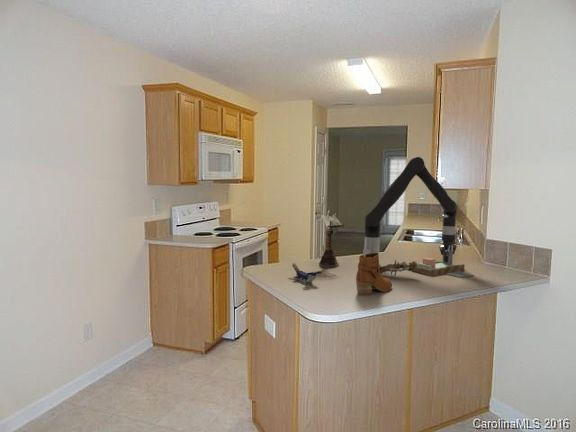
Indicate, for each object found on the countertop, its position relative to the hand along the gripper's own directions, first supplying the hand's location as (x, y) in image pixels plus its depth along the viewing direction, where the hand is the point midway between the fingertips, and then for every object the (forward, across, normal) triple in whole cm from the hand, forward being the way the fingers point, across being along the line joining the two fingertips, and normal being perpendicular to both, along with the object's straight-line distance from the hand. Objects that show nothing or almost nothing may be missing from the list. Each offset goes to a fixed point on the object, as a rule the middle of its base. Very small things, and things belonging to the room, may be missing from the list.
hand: (447, 261), depth 242 cm
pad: (+4, +7, +14) cm, 16 cm away
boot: (+5, +71, +13) cm, 73 cm away
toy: (+5, +90, -20) cm, 93 cm away
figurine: (+5, +45, -4) cm, 45 cm away
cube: (+1, +16, 0) cm, 17 cm away
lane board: (+4, +8, 0) cm, 9 cm away
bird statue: (+5, +56, -40) cm, 69 cm away
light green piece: (+3, +10, 0) cm, 10 cm away
